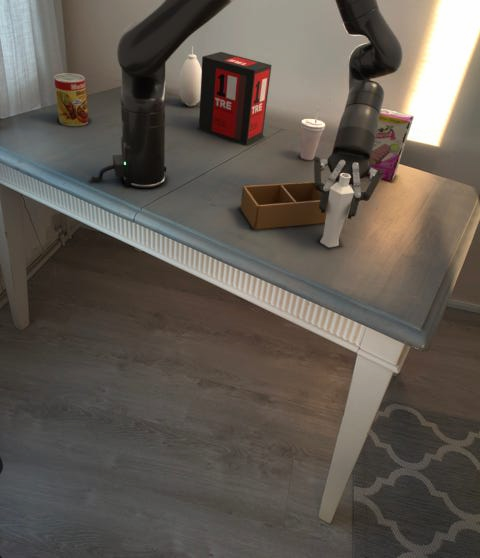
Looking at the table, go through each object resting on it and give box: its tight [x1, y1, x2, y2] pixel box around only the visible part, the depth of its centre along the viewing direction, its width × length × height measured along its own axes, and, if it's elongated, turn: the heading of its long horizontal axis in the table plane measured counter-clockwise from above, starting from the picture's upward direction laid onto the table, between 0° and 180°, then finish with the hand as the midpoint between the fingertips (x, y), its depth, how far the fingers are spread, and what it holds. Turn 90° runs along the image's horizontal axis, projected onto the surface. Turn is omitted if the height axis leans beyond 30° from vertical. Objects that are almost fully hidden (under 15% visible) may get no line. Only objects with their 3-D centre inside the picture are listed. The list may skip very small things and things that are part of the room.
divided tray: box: [239, 180, 329, 230], centre depth 109 cm, size 18×9×6 cm, turn 109°
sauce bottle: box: [178, 45, 202, 107], centre depth 158 cm, size 8×8×18 cm
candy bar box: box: [366, 107, 414, 182], centre depth 129 cm, size 11×5×16 cm, turn 65°
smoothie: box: [299, 105, 326, 161], centre depth 134 cm, size 6×6×14 cm
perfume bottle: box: [319, 173, 354, 248], centre depth 99 cm, size 5×4×15 cm
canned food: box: [53, 72, 89, 127], centre depth 139 cm, size 8×8×12 cm
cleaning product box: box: [198, 51, 272, 146], centre depth 141 cm, size 16×9×20 cm, turn 58°
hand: (336, 214), depth 97 cm, fingers closed on perfume bottle, 4 cm apart
